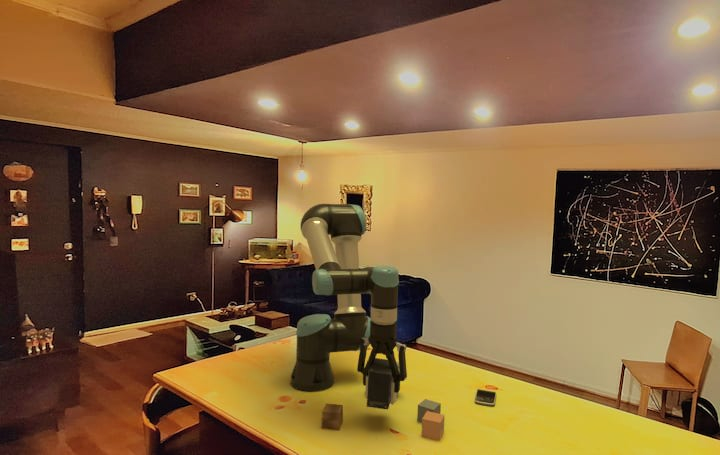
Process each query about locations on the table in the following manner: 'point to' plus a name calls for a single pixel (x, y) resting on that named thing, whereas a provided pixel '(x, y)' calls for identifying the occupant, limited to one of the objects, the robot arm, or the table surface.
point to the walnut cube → (332, 416)
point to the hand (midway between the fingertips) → (380, 399)
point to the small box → (379, 384)
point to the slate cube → (427, 408)
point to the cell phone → (485, 398)
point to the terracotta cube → (433, 425)
